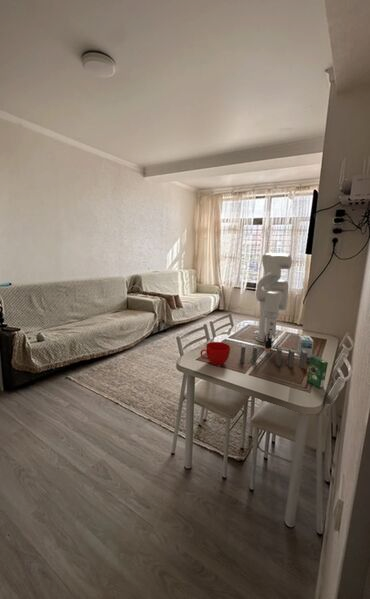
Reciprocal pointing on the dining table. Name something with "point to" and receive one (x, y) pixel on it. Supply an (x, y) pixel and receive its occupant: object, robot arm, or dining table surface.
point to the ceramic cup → (217, 353)
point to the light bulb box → (305, 345)
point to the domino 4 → (278, 356)
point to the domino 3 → (267, 348)
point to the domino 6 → (303, 359)
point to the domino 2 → (254, 354)
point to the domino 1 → (242, 353)
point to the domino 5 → (290, 357)
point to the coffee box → (317, 371)
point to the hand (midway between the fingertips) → (267, 346)
